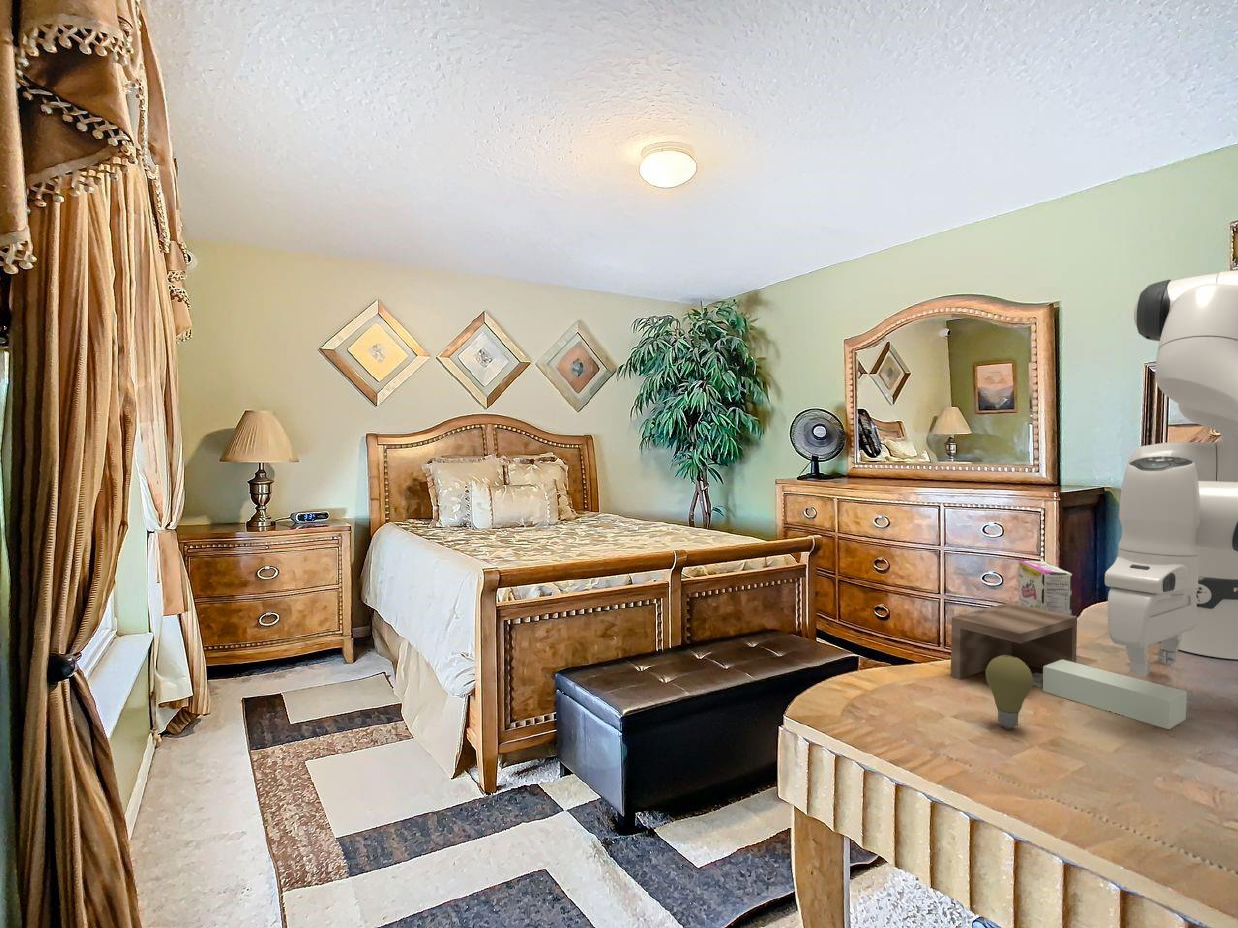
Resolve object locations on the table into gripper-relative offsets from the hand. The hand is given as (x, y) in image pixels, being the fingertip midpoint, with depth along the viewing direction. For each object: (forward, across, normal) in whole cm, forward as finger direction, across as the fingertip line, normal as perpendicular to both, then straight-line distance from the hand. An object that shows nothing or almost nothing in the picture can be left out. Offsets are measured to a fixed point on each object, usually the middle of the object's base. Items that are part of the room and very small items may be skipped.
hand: (1153, 668), depth 93 cm
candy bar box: (+7, -17, -22) cm, 29 cm away
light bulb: (+8, +20, -9) cm, 24 cm away
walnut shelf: (+7, -1, -19) cm, 21 cm away
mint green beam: (+7, -1, -5) cm, 9 cm away
